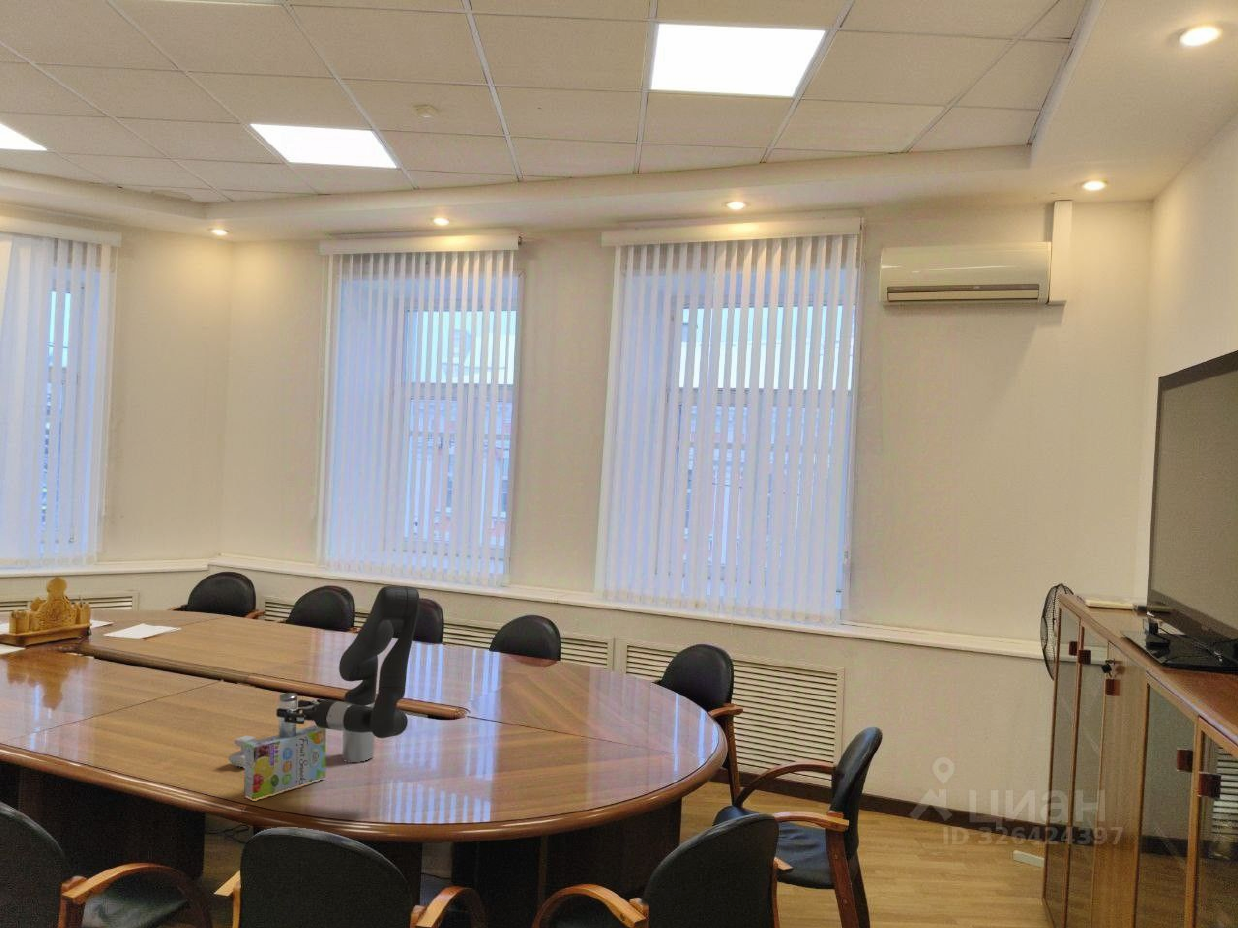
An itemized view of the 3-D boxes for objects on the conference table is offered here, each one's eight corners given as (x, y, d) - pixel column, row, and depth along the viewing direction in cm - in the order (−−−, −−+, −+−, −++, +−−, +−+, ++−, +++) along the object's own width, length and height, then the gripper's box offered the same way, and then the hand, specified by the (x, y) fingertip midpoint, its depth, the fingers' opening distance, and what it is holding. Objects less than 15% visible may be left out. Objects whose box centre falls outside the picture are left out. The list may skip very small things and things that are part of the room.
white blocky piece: (265, 764, 245) (266, 736, 244) (246, 772, 238) (247, 743, 238) (243, 759, 248) (244, 731, 248) (224, 766, 242) (225, 738, 242)
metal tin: (282, 731, 230) (283, 692, 230) (298, 732, 230) (299, 693, 230) (275, 737, 226) (276, 697, 226) (292, 737, 226) (293, 697, 226)
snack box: (314, 775, 238) (316, 723, 238) (325, 780, 234) (327, 728, 234) (242, 797, 222) (244, 741, 222) (252, 803, 218) (254, 746, 218)
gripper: (353, 694, 229) (305, 687, 235) (320, 708, 216) (270, 701, 221) (352, 721, 230) (305, 714, 235) (319, 737, 216) (269, 728, 221)
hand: (288, 707), depth 228 cm, fingers open, 8 cm apart
